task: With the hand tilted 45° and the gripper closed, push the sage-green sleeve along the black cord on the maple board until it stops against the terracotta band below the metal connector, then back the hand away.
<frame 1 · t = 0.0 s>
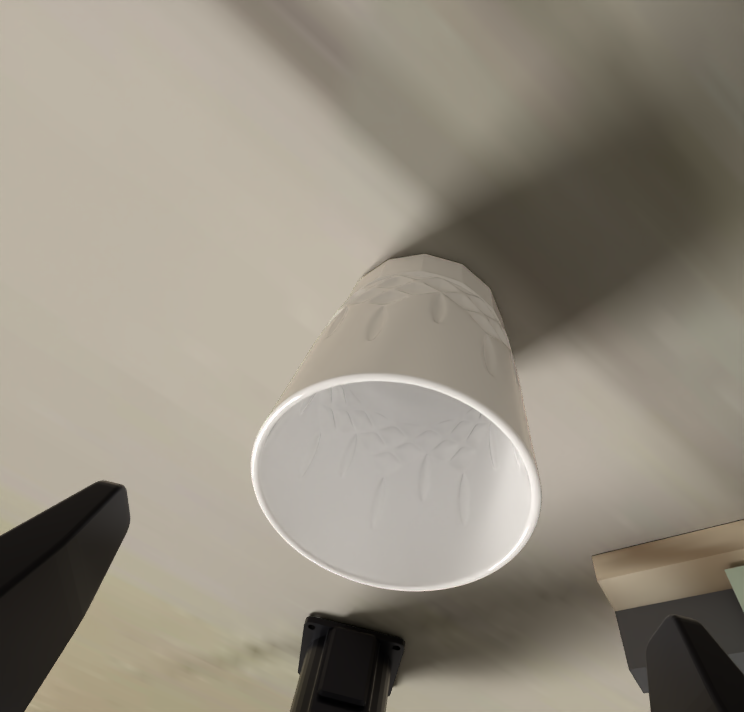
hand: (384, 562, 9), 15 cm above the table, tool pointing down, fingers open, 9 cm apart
white cup: (421, 325, 23), on the table
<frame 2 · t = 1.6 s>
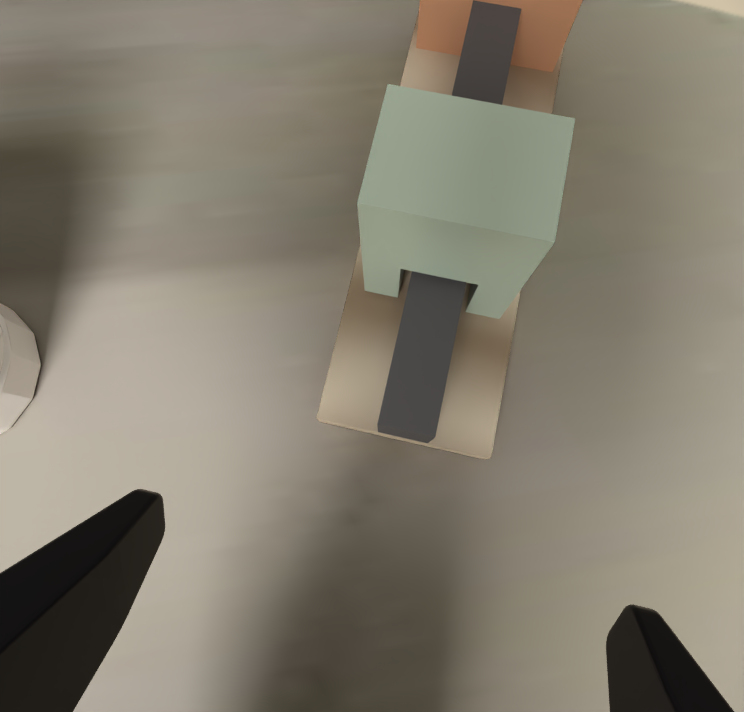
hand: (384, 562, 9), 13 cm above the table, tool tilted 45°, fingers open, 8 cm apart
track board: (449, 216, 25), on the table
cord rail: (455, 197, 22), on the track board, point 3 cm above the table
sleeve: (452, 219, 19), point 5 cm above the table, slide at 0.0 cm
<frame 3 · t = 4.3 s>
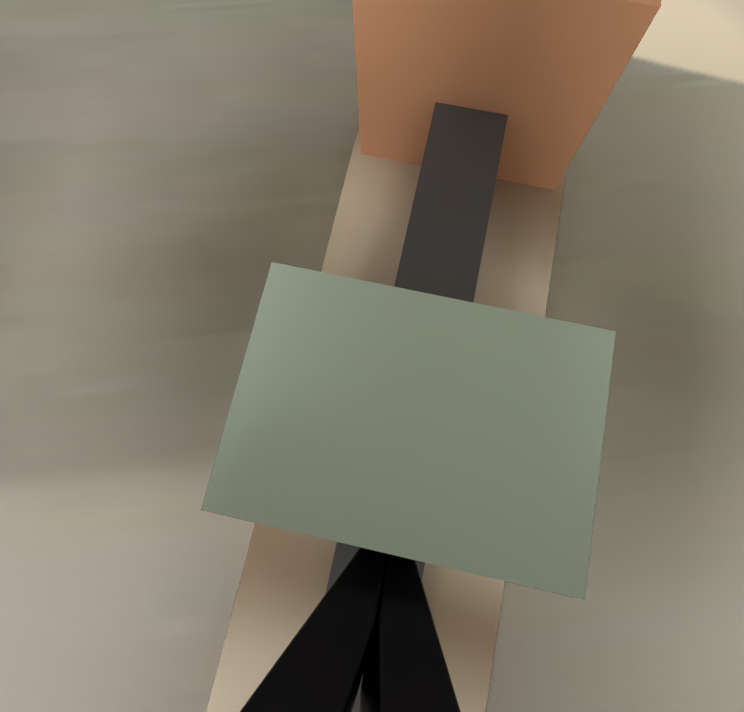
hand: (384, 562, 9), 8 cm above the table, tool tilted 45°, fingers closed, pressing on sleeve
track board: (409, 395, 17), on the table
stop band: (479, 73, 15), on the track board, point 5 cm above the table
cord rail: (409, 403, 14), on the track board, point 3 cm above the table
sleeve: (404, 439, 12), point 5 cm above the table, slide at 1.0 cm, touching gripper
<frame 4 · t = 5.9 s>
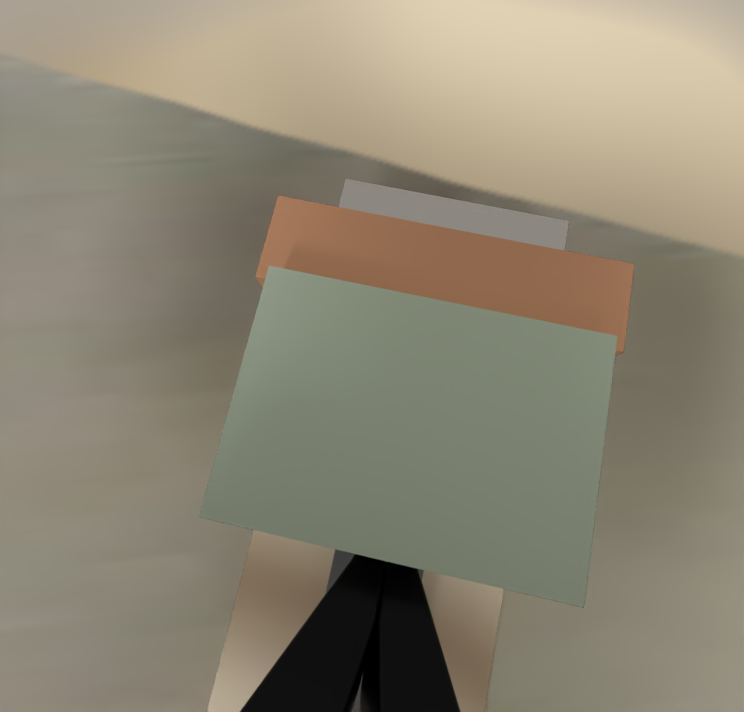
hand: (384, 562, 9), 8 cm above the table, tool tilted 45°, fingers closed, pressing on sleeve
connector: (437, 275, 14), on the track board, point 4 cm above the table
track board: (360, 634, 16), on the table
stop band: (427, 325, 13), on the track board, point 5 cm above the table
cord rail: (348, 703, 13), on the track board, point 3 cm above the table
sleeve: (404, 441, 12), point 5 cm above the table, slide at 8.3 cm, touching gripper, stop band
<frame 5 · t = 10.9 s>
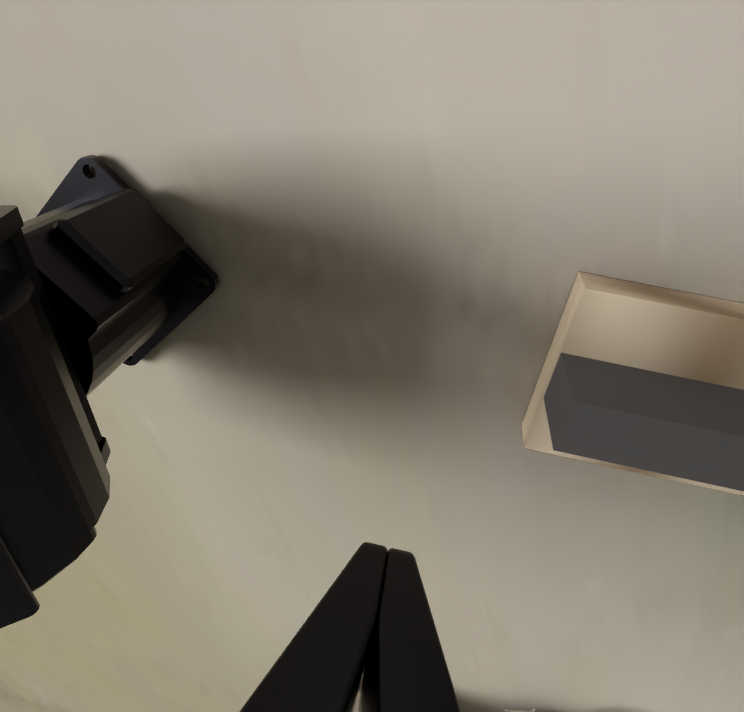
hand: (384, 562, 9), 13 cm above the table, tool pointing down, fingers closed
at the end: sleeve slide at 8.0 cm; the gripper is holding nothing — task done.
